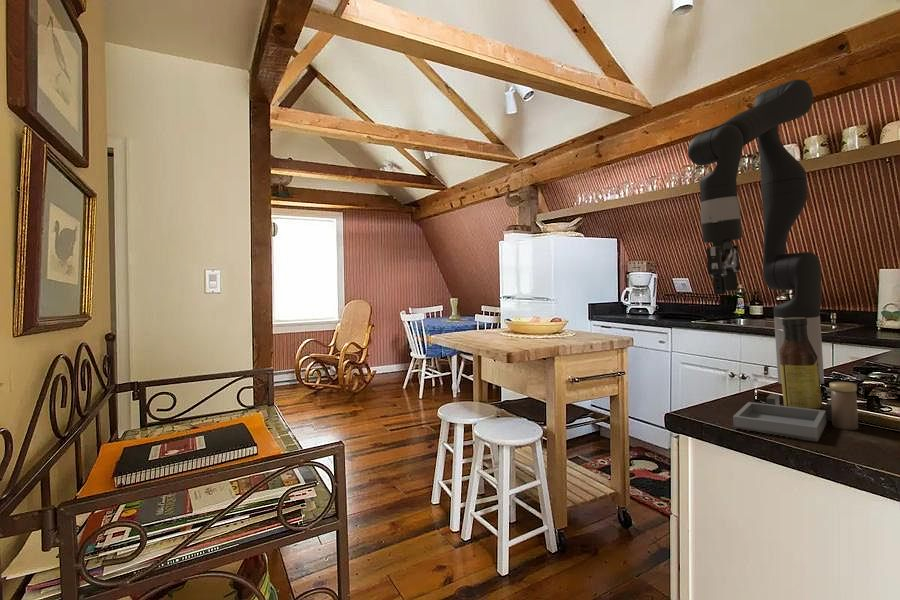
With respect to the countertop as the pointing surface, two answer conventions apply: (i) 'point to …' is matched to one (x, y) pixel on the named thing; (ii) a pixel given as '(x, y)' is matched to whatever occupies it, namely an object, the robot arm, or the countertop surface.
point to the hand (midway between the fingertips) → (726, 292)
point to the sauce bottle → (799, 367)
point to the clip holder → (774, 400)
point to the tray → (781, 420)
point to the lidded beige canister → (844, 405)
